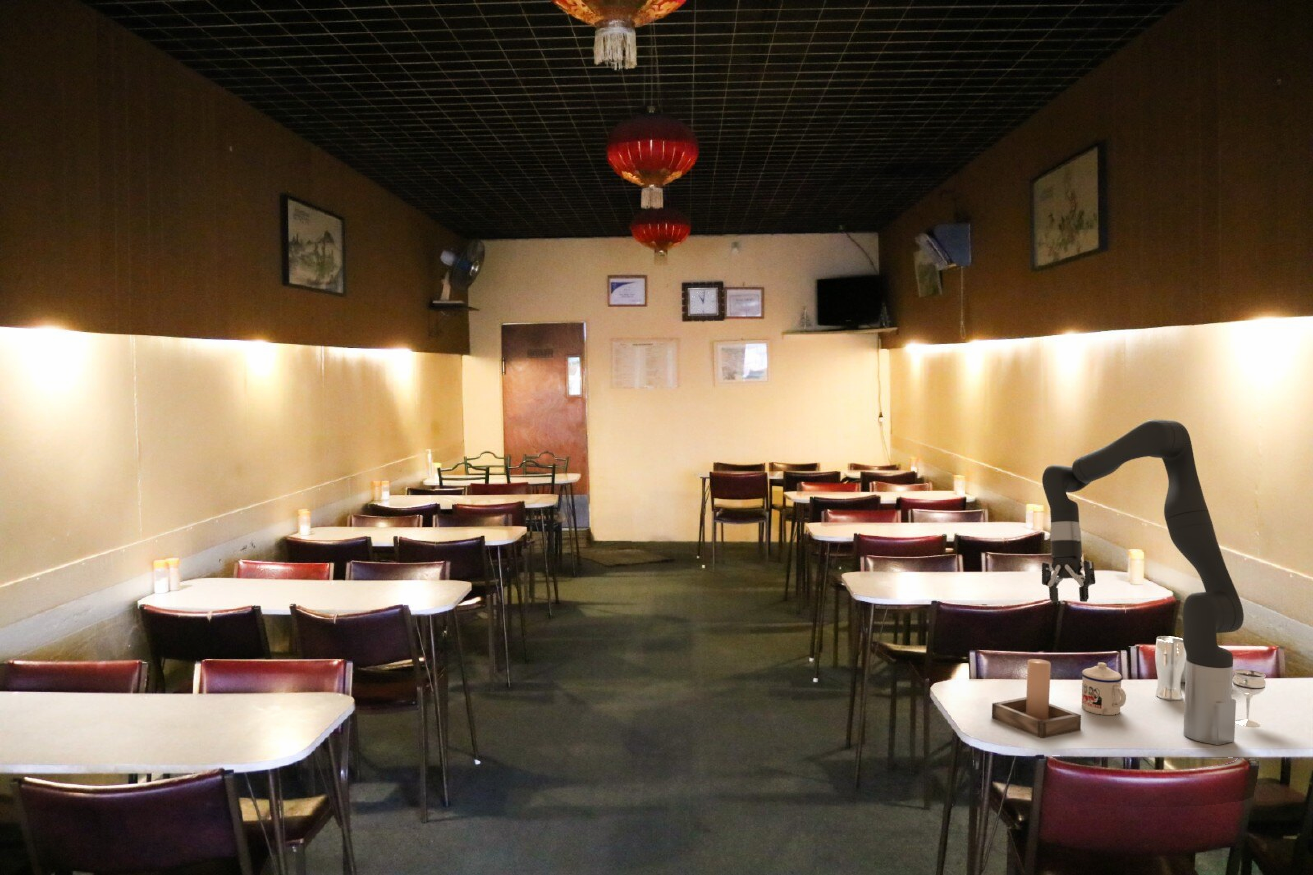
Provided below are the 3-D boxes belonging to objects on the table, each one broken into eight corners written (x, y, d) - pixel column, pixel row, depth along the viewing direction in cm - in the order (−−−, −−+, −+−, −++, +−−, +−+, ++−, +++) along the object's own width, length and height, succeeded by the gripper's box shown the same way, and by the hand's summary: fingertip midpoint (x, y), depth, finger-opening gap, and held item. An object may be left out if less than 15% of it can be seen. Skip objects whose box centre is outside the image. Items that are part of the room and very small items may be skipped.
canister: (1052, 722, 226) (1055, 663, 225) (1037, 725, 224) (1039, 665, 223) (1036, 716, 231) (1038, 658, 230) (1020, 718, 229) (1023, 660, 228)
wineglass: (1270, 725, 227) (1272, 675, 227) (1254, 730, 224) (1256, 679, 224) (1240, 716, 233) (1242, 667, 233) (1224, 721, 230) (1226, 671, 229)
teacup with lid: (1072, 705, 240) (1073, 659, 240) (1101, 702, 243) (1103, 656, 243) (1108, 721, 229) (1110, 673, 228) (1139, 718, 232) (1140, 670, 231)
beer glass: (1177, 693, 251) (1179, 636, 250) (1189, 701, 244) (1191, 643, 243) (1149, 692, 252) (1151, 635, 251) (1160, 700, 245) (1162, 642, 244)
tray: (1080, 730, 223) (1081, 715, 223) (1042, 738, 218) (1042, 723, 217) (1029, 710, 236) (1029, 696, 236) (991, 717, 231) (992, 703, 231)
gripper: (1033, 540, 260) (1036, 601, 257) (1081, 537, 248) (1084, 601, 245) (1051, 542, 264) (1054, 602, 261) (1098, 539, 252) (1102, 602, 249)
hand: (1069, 601), depth 253 cm, fingers open, 8 cm apart
